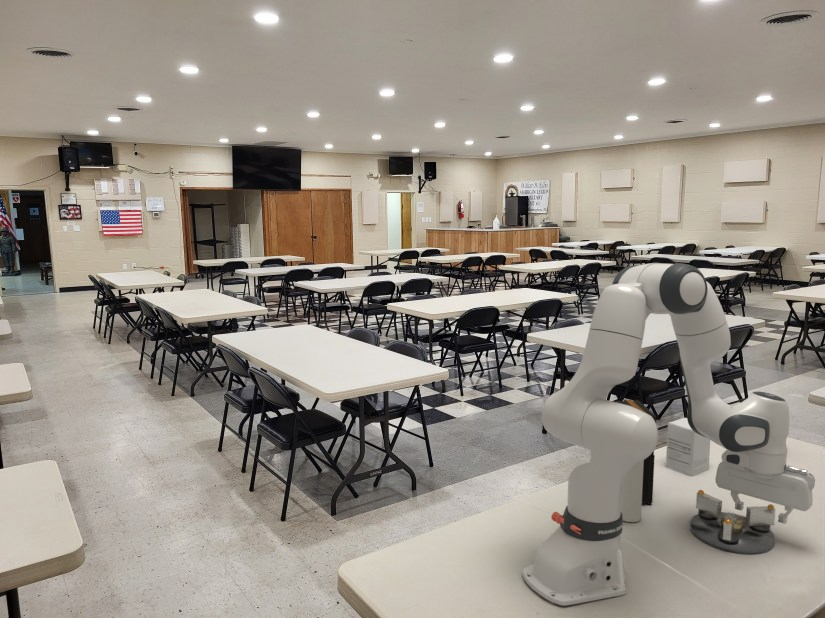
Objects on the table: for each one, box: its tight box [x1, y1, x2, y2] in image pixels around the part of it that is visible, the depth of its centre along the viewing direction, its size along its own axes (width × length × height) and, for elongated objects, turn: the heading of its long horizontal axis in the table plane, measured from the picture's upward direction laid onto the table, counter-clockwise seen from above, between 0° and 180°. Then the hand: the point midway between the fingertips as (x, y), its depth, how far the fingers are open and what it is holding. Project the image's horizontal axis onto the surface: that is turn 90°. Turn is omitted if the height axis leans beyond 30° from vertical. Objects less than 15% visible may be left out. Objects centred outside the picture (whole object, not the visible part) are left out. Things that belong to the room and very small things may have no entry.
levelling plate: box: [689, 511, 775, 555], centre depth 149 cm, size 18×18×4 cm
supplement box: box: [665, 417, 711, 477], centre depth 187 cm, size 9×9×15 cm
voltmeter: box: [614, 399, 657, 506], centre depth 171 cm, size 16×9×25 cm, turn 178°
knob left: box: [695, 489, 723, 521], centre depth 155 cm, size 6×4×6 cm
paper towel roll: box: [621, 460, 644, 523], centre depth 157 cm, size 7×6×21 cm
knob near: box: [718, 511, 739, 544], centre depth 144 cm, size 6×4×6 cm
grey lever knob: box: [745, 503, 776, 533], centre depth 148 cm, size 6×4×6 cm
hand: (760, 515), depth 148 cm, fingers open, 8 cm apart
